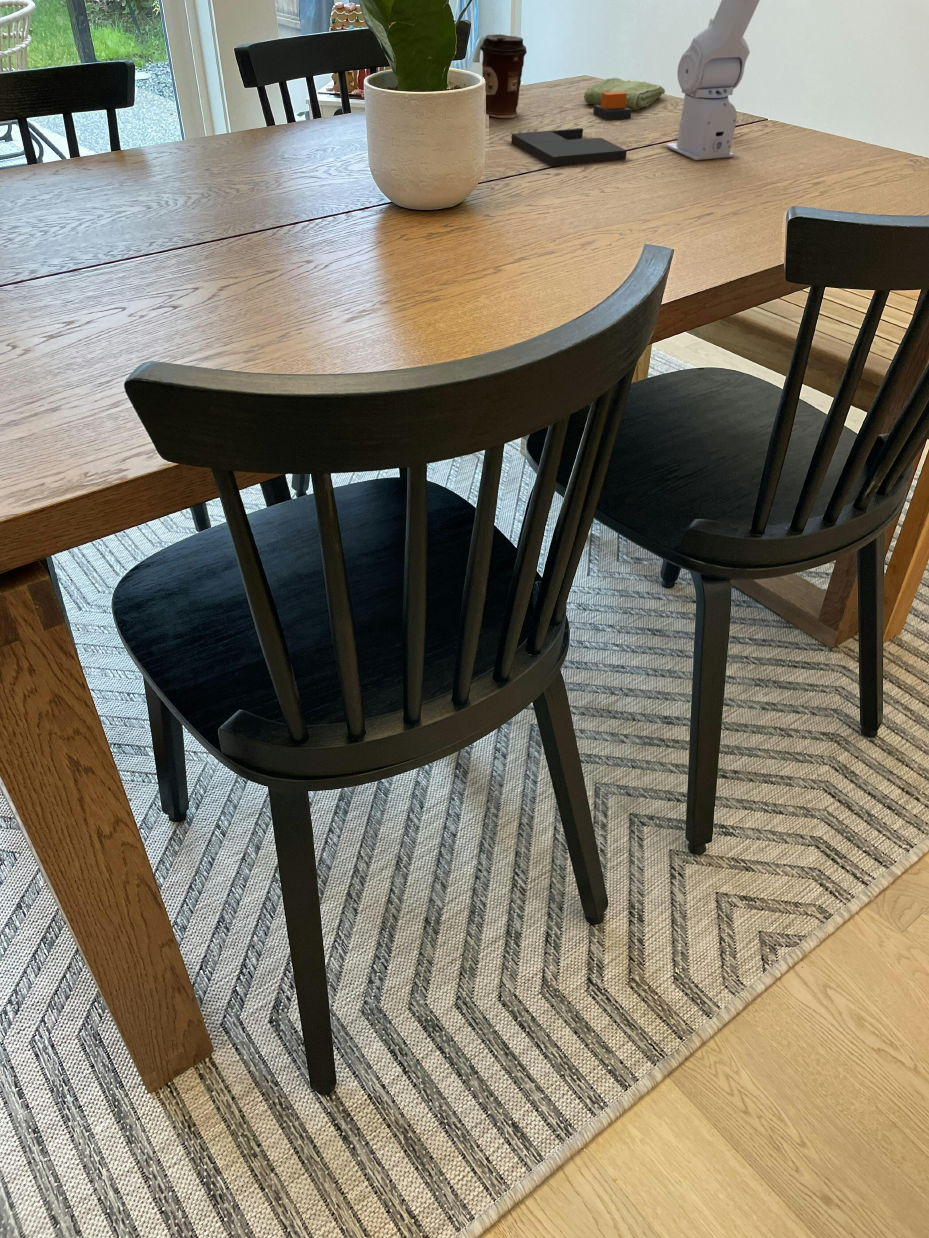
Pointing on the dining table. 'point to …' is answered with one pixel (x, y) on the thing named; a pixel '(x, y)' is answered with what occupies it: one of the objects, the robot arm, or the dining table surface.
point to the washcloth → (636, 92)
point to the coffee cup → (502, 73)
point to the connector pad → (612, 113)
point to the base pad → (567, 147)
